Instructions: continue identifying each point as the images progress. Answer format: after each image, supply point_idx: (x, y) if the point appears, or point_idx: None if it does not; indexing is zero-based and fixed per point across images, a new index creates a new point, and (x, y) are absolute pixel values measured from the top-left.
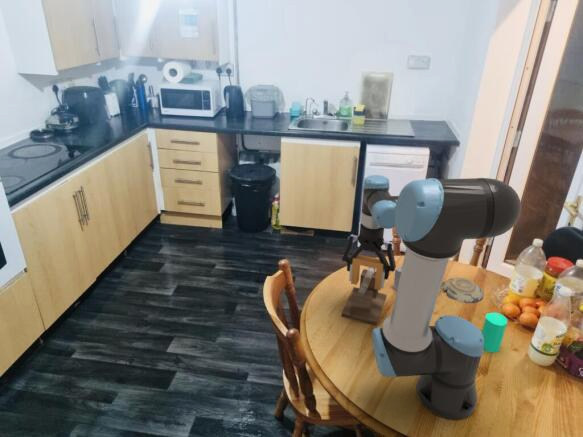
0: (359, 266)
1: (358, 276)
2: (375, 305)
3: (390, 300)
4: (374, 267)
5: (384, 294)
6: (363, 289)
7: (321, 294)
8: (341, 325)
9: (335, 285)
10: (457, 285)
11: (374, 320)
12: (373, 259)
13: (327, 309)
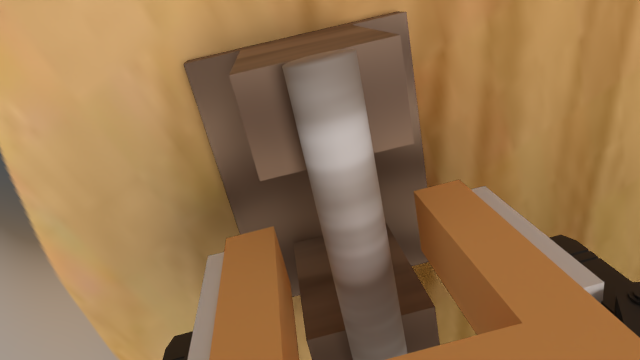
0: (287, 352)
1: (283, 280)
2: (385, 156)
3: (428, 20)
4: None
5: (394, 20)
6: None
7: (62, 211)
8: (296, 331)
9: (58, 81)
10: None
11: (422, 258)
12: None
13: (179, 289)
